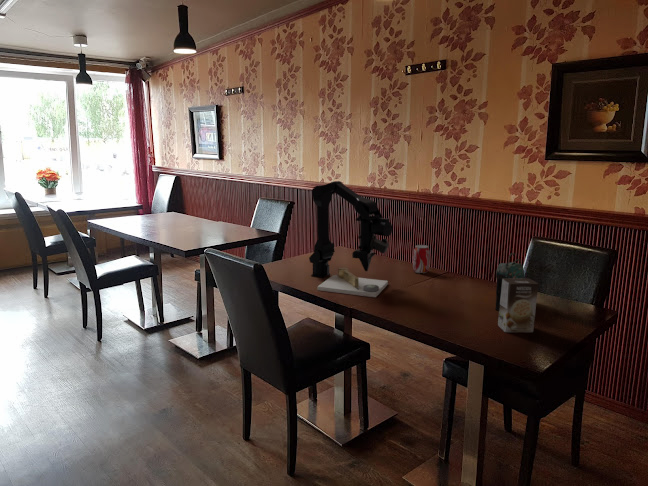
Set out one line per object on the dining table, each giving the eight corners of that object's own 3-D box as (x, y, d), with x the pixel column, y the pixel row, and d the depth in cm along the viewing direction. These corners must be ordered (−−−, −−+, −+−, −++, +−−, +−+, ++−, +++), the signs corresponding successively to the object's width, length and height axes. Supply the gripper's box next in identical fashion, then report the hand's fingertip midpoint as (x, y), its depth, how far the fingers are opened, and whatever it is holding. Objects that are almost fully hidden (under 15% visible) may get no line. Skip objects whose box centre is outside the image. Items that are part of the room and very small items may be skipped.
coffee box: (505, 333, 152) (509, 283, 149) (497, 325, 159) (501, 277, 155) (534, 332, 153) (538, 283, 149) (525, 324, 159) (529, 277, 155)
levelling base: (317, 290, 195) (317, 282, 194) (333, 278, 211) (333, 271, 210) (375, 297, 186) (375, 289, 185) (387, 284, 202) (387, 277, 201)
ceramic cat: (506, 314, 168) (511, 258, 164) (488, 310, 172) (492, 255, 168) (526, 300, 183) (531, 248, 179) (509, 296, 187) (513, 245, 183)
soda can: (424, 275, 216) (425, 248, 213) (410, 272, 220) (411, 246, 217) (431, 271, 221) (432, 245, 219) (417, 269, 225) (418, 243, 223)
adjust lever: (336, 276, 208) (337, 268, 207) (345, 275, 209) (345, 267, 209) (351, 287, 192) (351, 278, 192) (361, 286, 194) (361, 278, 193)
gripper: (380, 239, 181) (379, 279, 185) (392, 230, 198) (391, 267, 202) (352, 236, 185) (351, 276, 189) (366, 228, 202) (365, 264, 206)
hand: (366, 271), depth 196 cm, fingers closed
